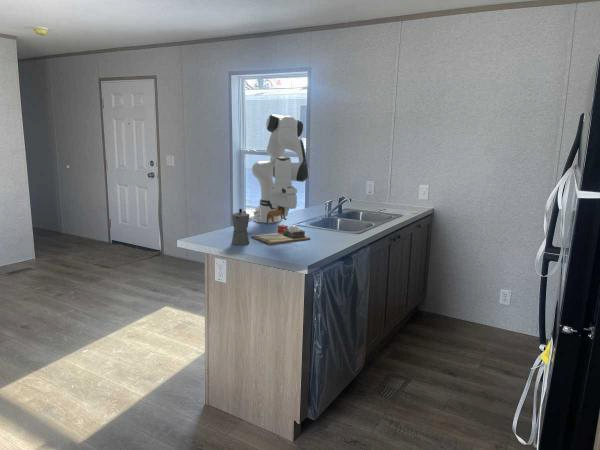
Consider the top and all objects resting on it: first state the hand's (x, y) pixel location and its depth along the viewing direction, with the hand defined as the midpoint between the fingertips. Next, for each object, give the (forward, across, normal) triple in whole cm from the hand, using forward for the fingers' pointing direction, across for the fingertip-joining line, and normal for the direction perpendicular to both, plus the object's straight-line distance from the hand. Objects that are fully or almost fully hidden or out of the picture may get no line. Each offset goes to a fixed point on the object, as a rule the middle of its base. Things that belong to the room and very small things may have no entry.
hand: (282, 215), depth 230 cm
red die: (+14, -19, +13) cm, 27 cm away
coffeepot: (+15, -10, -19) cm, 26 cm away
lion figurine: (+3, -1, -2) cm, 4 cm away
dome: (+13, -6, +12) cm, 19 cm away
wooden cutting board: (+14, -7, +4) cm, 17 cm away
